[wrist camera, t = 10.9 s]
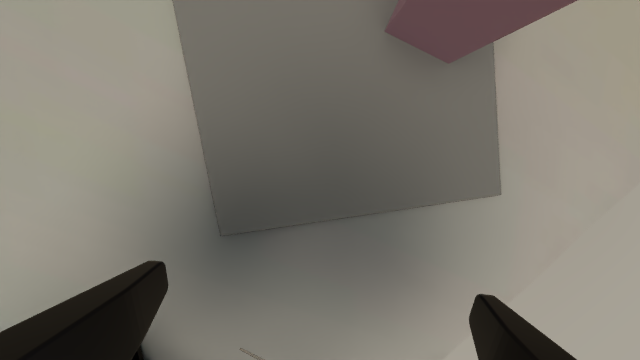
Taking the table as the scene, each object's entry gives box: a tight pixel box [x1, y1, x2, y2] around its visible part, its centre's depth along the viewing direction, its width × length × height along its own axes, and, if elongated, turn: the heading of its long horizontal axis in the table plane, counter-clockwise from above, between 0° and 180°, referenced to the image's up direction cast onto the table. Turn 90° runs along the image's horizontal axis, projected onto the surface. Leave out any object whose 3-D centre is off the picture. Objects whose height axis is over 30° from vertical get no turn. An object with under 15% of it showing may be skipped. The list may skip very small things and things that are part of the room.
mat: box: [172, 0, 501, 236], centre depth 20 cm, size 19×16×1 cm
